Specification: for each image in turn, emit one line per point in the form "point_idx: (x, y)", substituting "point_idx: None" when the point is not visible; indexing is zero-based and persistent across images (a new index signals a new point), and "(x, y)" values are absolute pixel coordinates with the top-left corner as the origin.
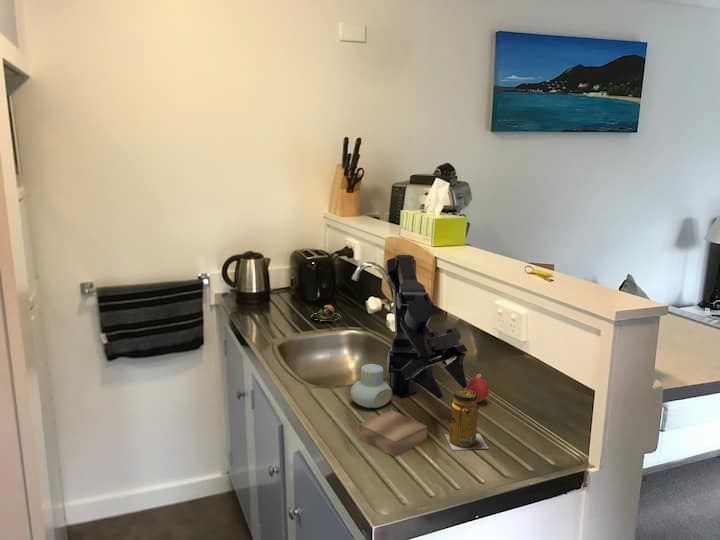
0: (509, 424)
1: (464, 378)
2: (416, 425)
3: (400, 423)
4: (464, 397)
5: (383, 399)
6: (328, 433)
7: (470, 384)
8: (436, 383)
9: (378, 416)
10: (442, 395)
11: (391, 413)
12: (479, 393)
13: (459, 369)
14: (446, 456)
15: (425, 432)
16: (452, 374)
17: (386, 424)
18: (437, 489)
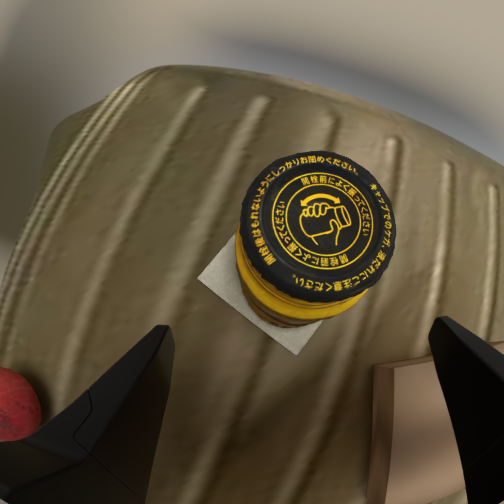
0: (79, 252)
1: (135, 358)
2: (417, 392)
3: (441, 430)
4: (379, 185)
5: None
6: None
7: (11, 426)
8: (494, 367)
9: (443, 495)
10: (442, 318)
11: (403, 499)
12: (20, 386)
13: (110, 430)
14: (393, 259)
15: (392, 365)
16: (144, 474)
17: None
18: (480, 189)
